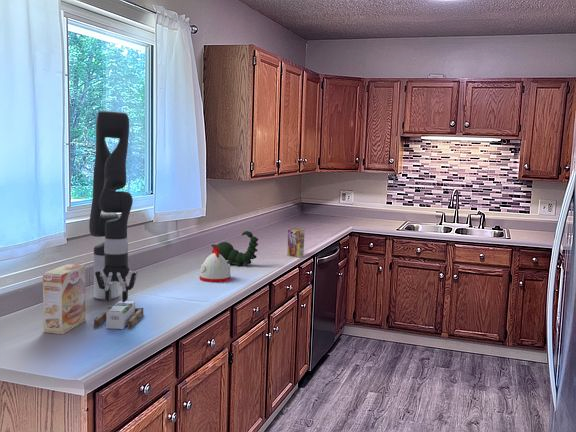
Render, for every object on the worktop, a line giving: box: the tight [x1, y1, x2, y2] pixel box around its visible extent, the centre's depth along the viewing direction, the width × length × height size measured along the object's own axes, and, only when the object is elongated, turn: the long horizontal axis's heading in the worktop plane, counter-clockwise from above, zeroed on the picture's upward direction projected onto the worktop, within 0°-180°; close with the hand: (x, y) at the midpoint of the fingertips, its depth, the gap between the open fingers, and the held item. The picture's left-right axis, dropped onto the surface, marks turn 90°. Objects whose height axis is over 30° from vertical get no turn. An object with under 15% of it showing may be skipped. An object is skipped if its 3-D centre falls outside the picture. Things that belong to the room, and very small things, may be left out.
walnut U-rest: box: [93, 306, 144, 330], centre depth 205 cm, size 16×12×2 cm
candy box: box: [286, 227, 306, 258], centre depth 329 cm, size 9×4×15 cm, turn 48°
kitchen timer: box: [199, 246, 232, 283], centre depth 270 cm, size 14×14×15 cm
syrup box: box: [105, 300, 136, 330], centre depth 203 cm, size 6×6×14 cm
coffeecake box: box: [42, 263, 87, 335], centre depth 197 cm, size 15×7×20 cm, turn 170°
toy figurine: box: [210, 230, 259, 267], centre depth 302 cm, size 9×19×25 cm
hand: (116, 301), depth 201 cm, fingers open, 4 cm apart
